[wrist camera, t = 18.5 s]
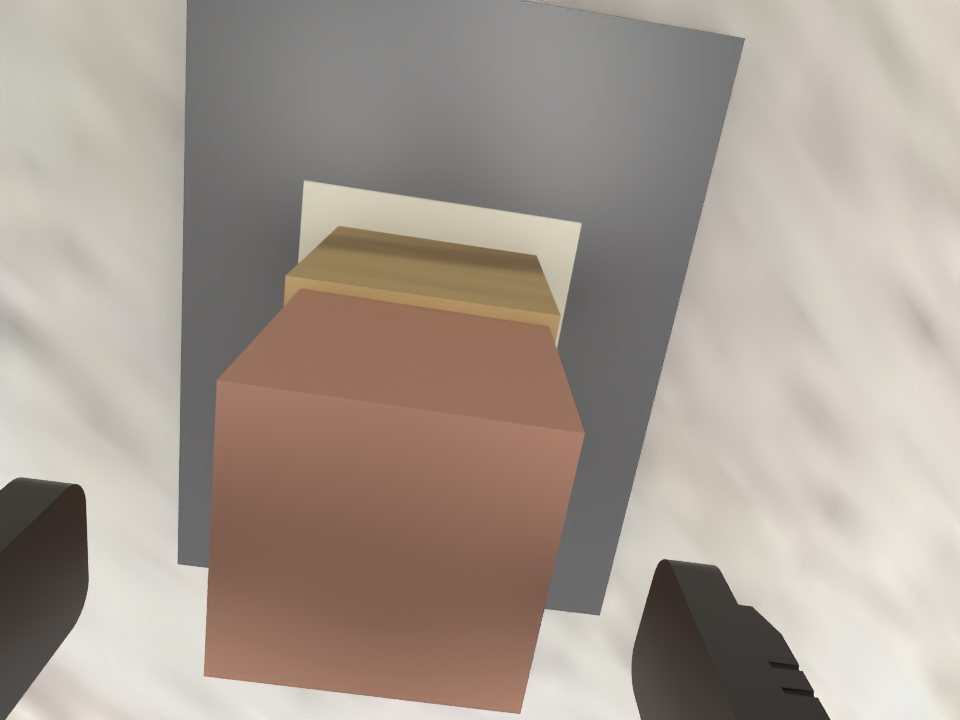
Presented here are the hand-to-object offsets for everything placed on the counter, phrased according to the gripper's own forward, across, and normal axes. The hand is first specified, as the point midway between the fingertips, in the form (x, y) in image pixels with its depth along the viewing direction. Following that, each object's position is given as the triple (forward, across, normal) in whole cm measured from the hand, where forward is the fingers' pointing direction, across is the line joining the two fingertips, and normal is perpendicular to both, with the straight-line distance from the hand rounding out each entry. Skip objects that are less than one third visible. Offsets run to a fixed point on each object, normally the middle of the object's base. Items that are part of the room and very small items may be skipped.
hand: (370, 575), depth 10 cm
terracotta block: (+5, 0, 0) cm, 5 cm away
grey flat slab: (+12, 0, 0) cm, 13 cm away
